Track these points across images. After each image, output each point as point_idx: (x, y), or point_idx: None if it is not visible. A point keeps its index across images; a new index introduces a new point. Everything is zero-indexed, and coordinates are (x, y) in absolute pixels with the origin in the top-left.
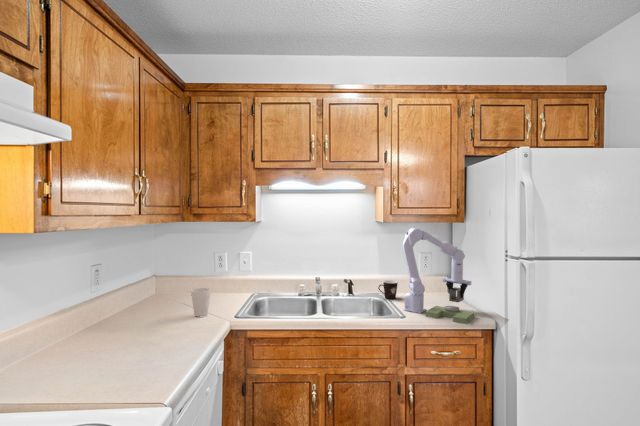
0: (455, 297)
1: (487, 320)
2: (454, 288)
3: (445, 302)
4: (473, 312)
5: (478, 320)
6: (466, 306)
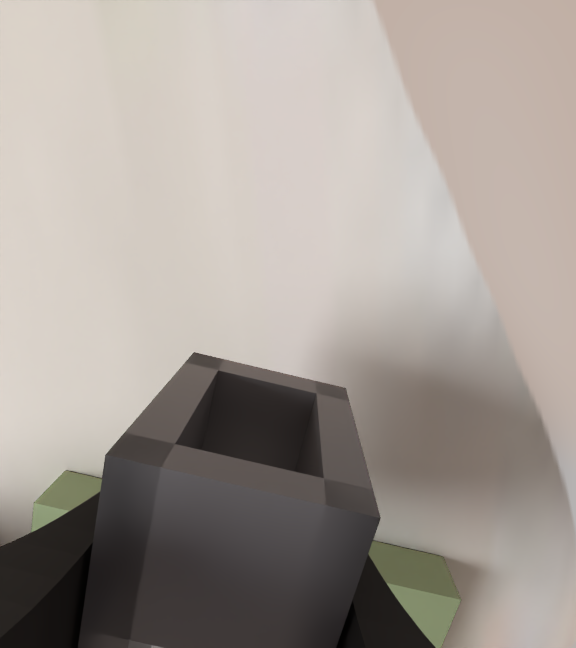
0: (214, 437)
1: (553, 609)
2: (136, 607)
3: (66, 19)
4: (449, 611)
5: (472, 634)
6: (361, 133)
